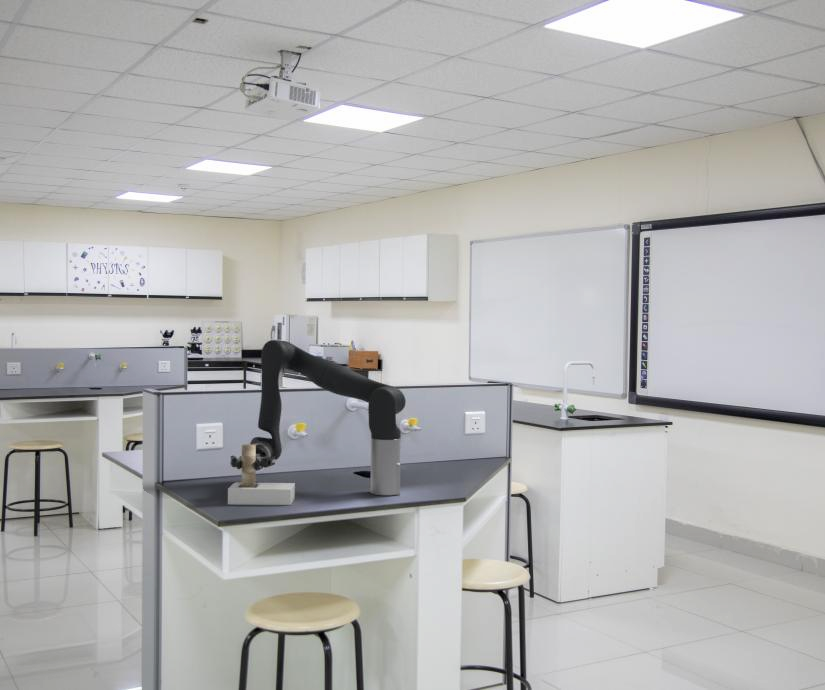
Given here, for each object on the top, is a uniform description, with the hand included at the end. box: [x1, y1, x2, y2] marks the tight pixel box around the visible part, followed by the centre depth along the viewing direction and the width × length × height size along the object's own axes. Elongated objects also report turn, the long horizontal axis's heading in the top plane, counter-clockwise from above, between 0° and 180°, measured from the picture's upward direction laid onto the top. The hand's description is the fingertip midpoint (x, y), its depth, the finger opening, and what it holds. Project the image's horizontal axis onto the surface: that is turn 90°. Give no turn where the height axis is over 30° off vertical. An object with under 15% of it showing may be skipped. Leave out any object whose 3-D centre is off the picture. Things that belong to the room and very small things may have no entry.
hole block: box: [227, 481, 296, 506], centre depth 248 cm, size 18×10×4 cm, turn 91°
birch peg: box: [241, 443, 256, 488], centre depth 248 cm, size 4×4×15 cm
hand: (247, 465), depth 245 cm, fingers open, 4 cm apart
